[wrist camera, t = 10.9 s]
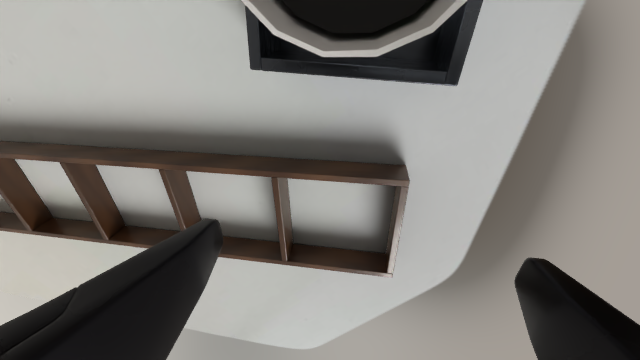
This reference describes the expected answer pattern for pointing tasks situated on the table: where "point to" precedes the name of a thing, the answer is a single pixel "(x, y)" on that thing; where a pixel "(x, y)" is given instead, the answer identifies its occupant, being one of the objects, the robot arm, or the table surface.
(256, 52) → the open box
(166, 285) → the robot arm
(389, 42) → the white coffee cup
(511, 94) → the table surface
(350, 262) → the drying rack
